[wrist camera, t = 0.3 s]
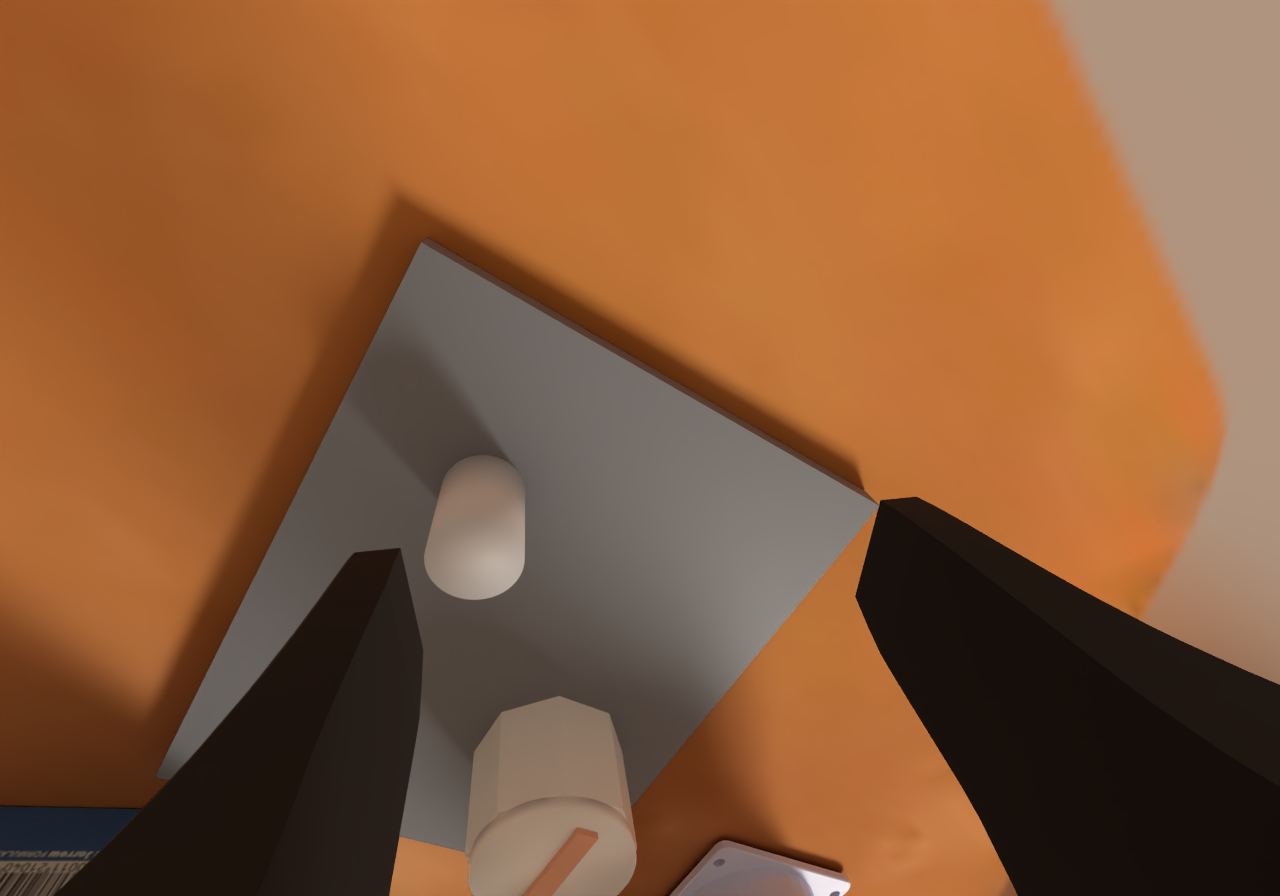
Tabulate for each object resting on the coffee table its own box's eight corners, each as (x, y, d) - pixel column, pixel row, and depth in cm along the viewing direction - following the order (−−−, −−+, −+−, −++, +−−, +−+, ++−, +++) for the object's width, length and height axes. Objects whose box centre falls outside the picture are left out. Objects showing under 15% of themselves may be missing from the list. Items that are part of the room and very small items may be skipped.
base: (571, 854, 28) (579, 973, 24) (169, 752, 23) (91, 884, 19) (865, 491, 23) (939, 567, 19) (426, 237, 17) (395, 265, 13)
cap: (574, 813, 26) (583, 942, 21) (453, 779, 24) (438, 912, 20) (644, 724, 24) (669, 844, 20) (521, 681, 22) (519, 802, 18)
